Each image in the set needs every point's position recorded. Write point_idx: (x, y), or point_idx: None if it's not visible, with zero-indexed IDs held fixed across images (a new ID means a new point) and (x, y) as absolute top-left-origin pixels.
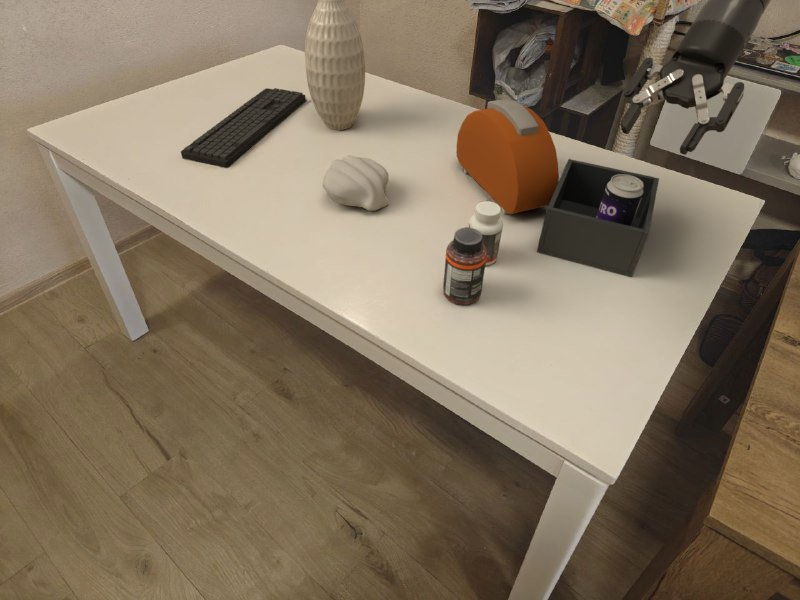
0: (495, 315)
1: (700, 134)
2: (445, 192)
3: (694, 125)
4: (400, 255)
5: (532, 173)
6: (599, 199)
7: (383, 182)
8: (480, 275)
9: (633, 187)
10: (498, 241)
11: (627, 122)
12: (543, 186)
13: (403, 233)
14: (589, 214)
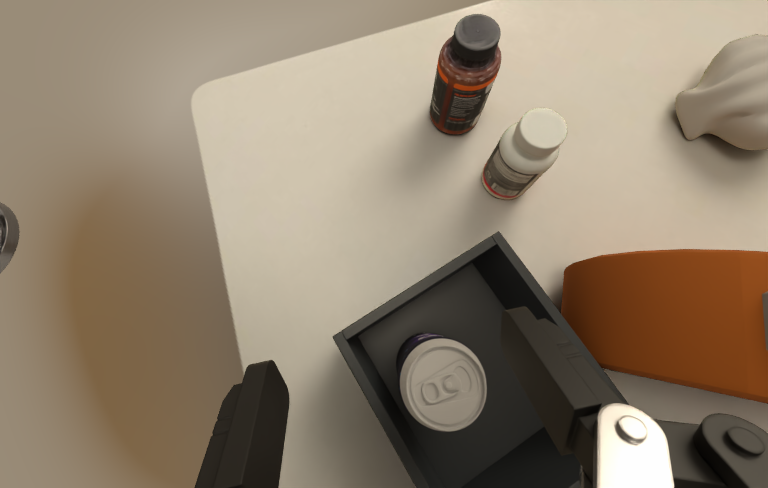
0: (399, 125)
1: (207, 456)
2: (689, 238)
3: (240, 469)
4: (559, 95)
5: (622, 292)
6: (526, 453)
7: (739, 122)
8: (435, 85)
9: (422, 383)
10: (494, 166)
11: (523, 323)
12: (586, 317)
13: (604, 122)
14: (507, 410)
